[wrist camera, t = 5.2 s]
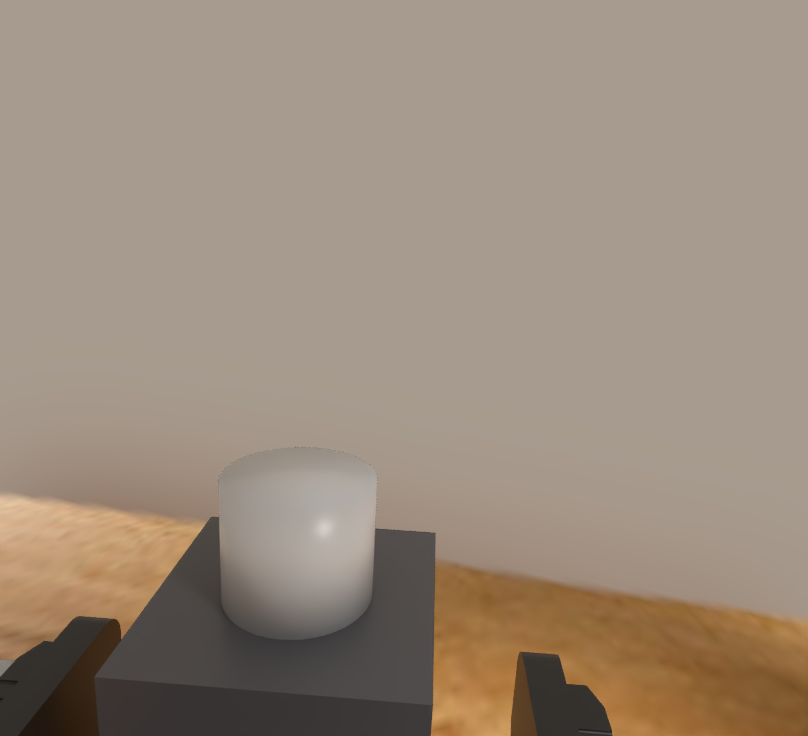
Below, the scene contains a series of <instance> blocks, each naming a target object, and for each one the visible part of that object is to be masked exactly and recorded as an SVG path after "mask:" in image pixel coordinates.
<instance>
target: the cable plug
mask: <svg viewBox="0 0 808 736" xmlns="http://www.w3.org/2000/svg"><path fill="white" fill-rule="evenodd" d="M218 494H219V517H211V518H210V519H209V521H208V522H207V523H206V525H205V526H204V528H203V529H202V530H201V532H200V533H199V534H198V536H197V537H196V539H195V540H194V541H193V543H192V544H191V545H190V547H189V548H188V549H187V551H186V552H185V554H184V555H183V556H182V558H181V559H180V560H179V562H178V563H177V565H176V566H175V567H174V569H173V570H172V571H171V573H170V574H169V575H168V577H167V578H166V580H165V581H164V582H163V584H162V585H161V586H160V588H159V589H158V590H157V592H156V593H155V595H154V596H153V597H152V599H151V600H150V601H149V603H148V604H147V606H146V607H145V608H144V610H143V611H142V612H141V614H140V615H139V616H138V618H137V619H136V621H135V622H134V623H133V625H132V626H131V627H130V629H129V630H128V632H127V633H126V634H125V636H124V637H123V638H122V640H121V641H120V642H119V644H118V645H117V647H116V648H115V649H114V651H113V652H112V653H111V655H110V656H109V658H108V659H107V660H106V662H105V663H104V664H103V666H102V667H101V668H100V670H99V671H98V673H97V674H96V675H95V677H94V681H95V692H96V704H97V716H98V727H99V736H431V722H432V708H433V656H434V591H435V533H429V532H416V531H401V530H388V529H387V530H386V529H375V521H376V496H377V474H376V472H375V470H374V469H373V468H372V467H371V466H370V465H369V464H368V463H367V462H365V461H364V460H362V459H360V458H358V457H356V456H353V455H350V454H347V453H344V452H340V451H335V450H330V449H322V448H309V447H308V448H307V447H294V448H281V449H274V450H267V451H263V452H258V453H255V454H251V455H249V456H246V457H243V458H241V459H239V460H237V461H235V462H233V463H231V464H230V465H229V466H228V467H226V468H225V469H224V470H223V471H222V473H221V474H220V476H219V479H218Z"/></svg>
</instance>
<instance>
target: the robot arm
mask: <svg viewBox="0 0 808 736" xmlns="http://www.w3.org/2000/svg"><path fill="white" fill-rule="evenodd" d="M120 641H121V630H120V624H119V622H118V621H117V620H116V619H108V618H96V617H83V616H78V617H76V618H74V619H73V620H72V621H71V622H70V623H69V624H68V626H67V627H66V628H65V629H64V630H63V631H62V632H61V634H60V635H59V636H58V637H57V638H56V639H55V640H54V642H49V641H44V642H42V643H40V644H39V645H37V646H36V647H34V648H33V649H31V650H30V651H28V652H26V653H25V654H23V655H22V656H20V657H19V658H17V659H16V660H15V661H14V662H13V663H12V665H11V666H10V667H9V668H8V669H7V670H6V671H5V672H4V673H3V674H2V675H1V676H0V736H99V727H98V716H97V704H96V692H95V681H94V677H95V675H96V674H97V673H98V671H99V670H100V668H101V667H102V666H103V664H104V663H105V662H106V660H107V659H108V658H109V656H110V655H111V653H112V652H113V651H114V649H115V648H116V647H117V645H118V644H119V642H120ZM511 736H612V729H611V726H610V723H609V720H608V717H607V714H606V711H605V708H604V706H603V705H602V704H601V703H600V701H599V700H598V699H597V698H596V697H595V695H594V694H593V693H592V692H591V691H590V689H589V688H588V687H587V686H585V685H572V684H566V681H565V677H564V673H563V669H562V665H561V662H560V658H559V656H558V655H555V654H542V653H529V652H520V653H519V656H518V662H517V671H516V680H515V689H514V698H513V707H512V717H511Z"/></svg>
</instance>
